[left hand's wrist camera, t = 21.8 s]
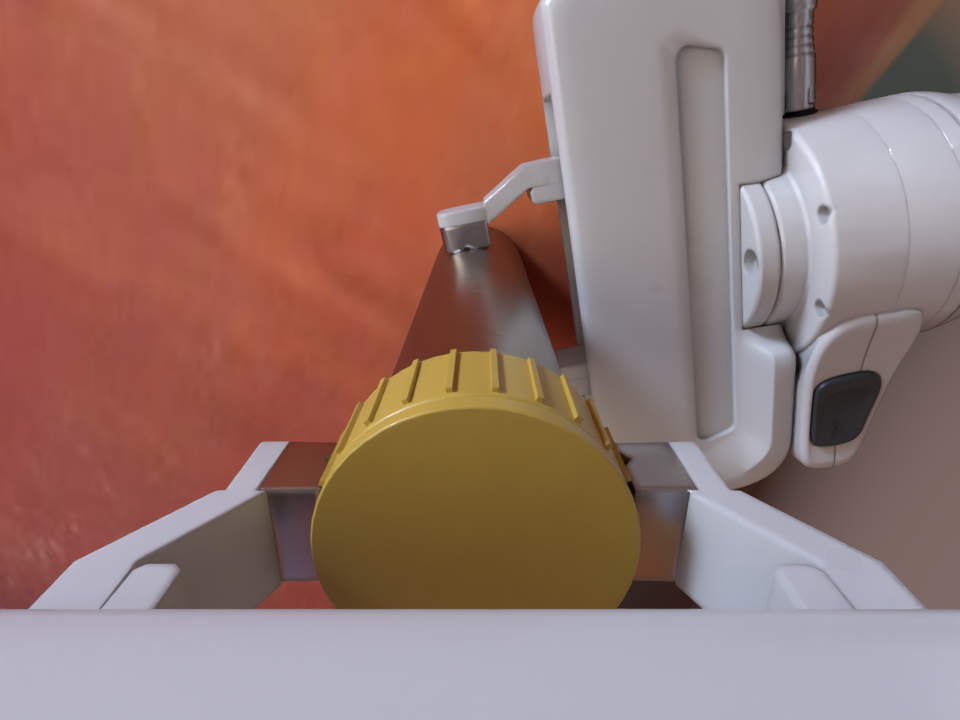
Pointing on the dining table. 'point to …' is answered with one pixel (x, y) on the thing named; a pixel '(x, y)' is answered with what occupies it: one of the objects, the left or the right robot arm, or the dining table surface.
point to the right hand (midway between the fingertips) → (456, 302)
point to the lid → (475, 494)
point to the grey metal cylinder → (479, 308)
